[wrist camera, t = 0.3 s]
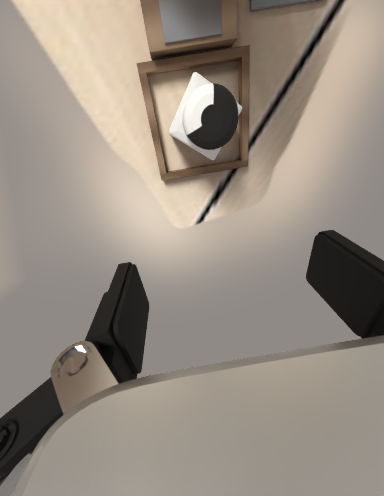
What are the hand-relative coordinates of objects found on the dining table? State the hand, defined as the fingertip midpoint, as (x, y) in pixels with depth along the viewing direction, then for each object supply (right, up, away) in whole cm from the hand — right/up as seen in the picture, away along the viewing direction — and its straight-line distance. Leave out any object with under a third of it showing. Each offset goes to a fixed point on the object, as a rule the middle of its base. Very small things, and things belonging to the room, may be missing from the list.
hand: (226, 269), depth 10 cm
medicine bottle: (-1, +21, +21) cm, 30 cm away
